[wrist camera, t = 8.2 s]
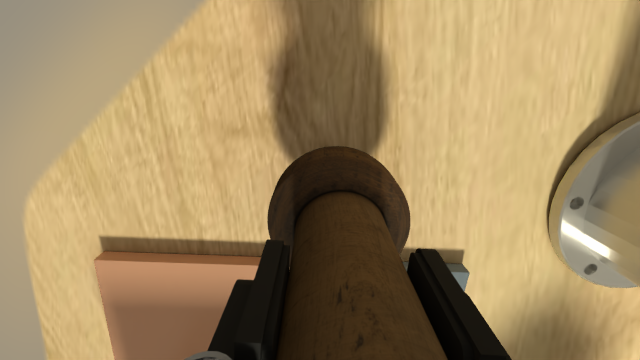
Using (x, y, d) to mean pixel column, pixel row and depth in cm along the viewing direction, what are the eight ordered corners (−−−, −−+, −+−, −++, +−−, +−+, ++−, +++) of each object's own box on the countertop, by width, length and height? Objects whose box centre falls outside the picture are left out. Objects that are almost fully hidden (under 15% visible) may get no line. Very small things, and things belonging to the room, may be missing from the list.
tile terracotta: (271, 257, 20) (269, 265, 20) (269, 374, 24) (267, 386, 23) (103, 251, 20) (93, 260, 19) (127, 372, 23) (120, 385, 22)
